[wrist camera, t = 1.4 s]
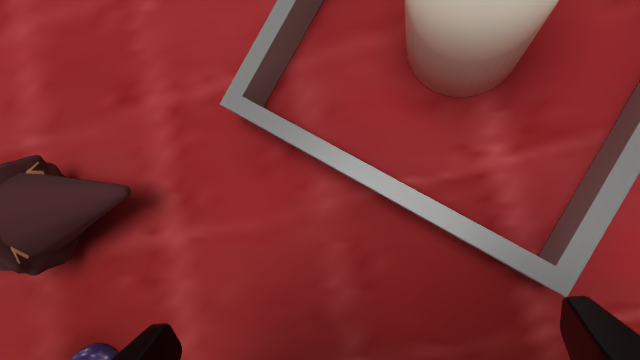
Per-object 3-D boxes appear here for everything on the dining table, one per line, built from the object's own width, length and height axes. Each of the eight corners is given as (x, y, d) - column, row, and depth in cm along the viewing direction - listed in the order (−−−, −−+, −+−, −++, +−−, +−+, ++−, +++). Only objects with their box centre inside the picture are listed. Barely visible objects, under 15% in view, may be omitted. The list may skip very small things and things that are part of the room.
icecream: (82, 104, 21) (-100, 168, 25) (61, 242, 18) (-141, 288, 22) (171, 155, 27) (12, 200, 31) (166, 264, 24) (-8, 297, 28)
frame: (740, -50, 20) (795, -96, 18) (544, 287, 21) (566, 297, 18) (394, -157, 25) (392, -206, 22) (241, 117, 26) (219, 103, 23)
